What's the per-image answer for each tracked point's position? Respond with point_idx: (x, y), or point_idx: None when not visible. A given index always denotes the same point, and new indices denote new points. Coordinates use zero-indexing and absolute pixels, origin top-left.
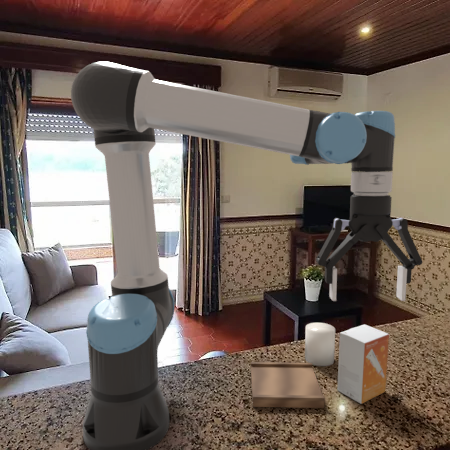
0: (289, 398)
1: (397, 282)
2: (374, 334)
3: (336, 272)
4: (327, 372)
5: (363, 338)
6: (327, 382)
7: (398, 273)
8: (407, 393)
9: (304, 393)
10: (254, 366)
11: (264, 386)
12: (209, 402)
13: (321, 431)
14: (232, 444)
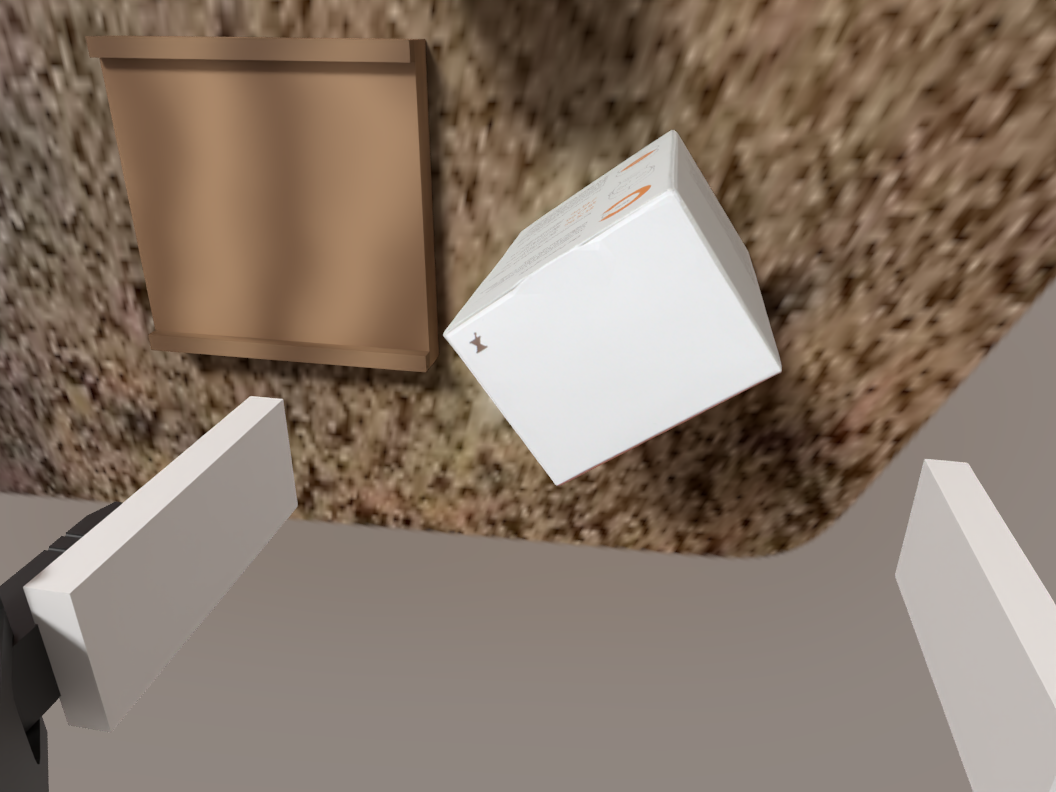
0: (290, 359)
1: (971, 571)
2: (668, 378)
3: (131, 700)
4: (511, 50)
5: (569, 431)
6: (490, 158)
7: (1010, 681)
8: (856, 265)
9: (354, 313)
10: (116, 60)
11: (189, 252)
12: (21, 300)
13: (408, 473)
14: None
